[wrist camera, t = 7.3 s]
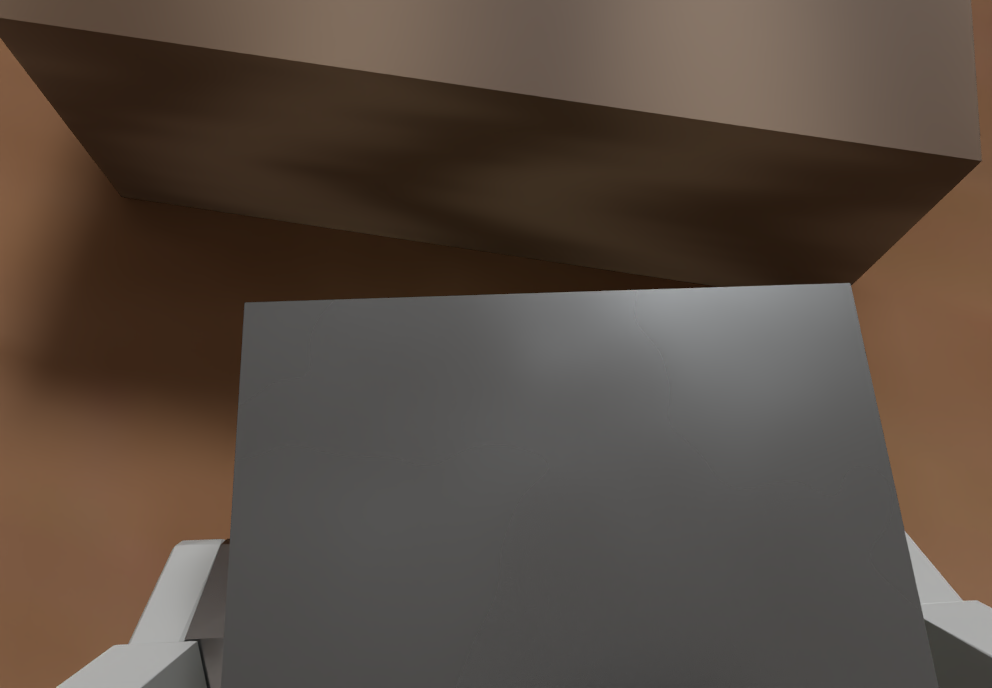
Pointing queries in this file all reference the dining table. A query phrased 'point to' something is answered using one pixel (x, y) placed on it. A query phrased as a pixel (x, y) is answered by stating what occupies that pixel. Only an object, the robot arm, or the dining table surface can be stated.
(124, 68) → the walnut box
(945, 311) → the dining table surface
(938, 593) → the robot arm
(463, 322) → the sage tea tin
